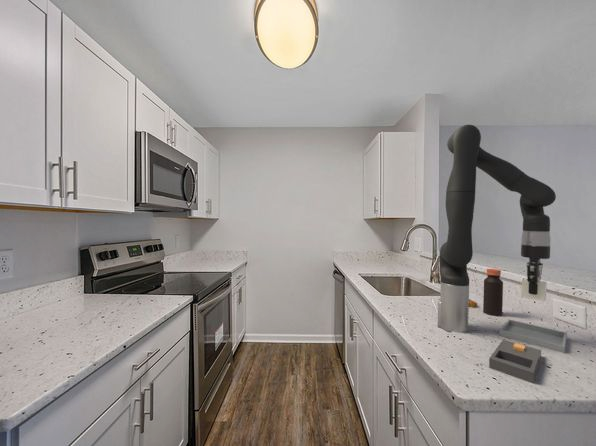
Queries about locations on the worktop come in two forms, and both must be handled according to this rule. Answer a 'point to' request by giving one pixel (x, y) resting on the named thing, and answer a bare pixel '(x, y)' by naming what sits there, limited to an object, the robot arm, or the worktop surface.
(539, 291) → the block
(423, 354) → the worktop surface
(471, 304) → the pastry
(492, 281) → the bottle
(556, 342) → the tray
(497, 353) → the grey slotted base
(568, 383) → the worktop surface
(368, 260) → the worktop surface
